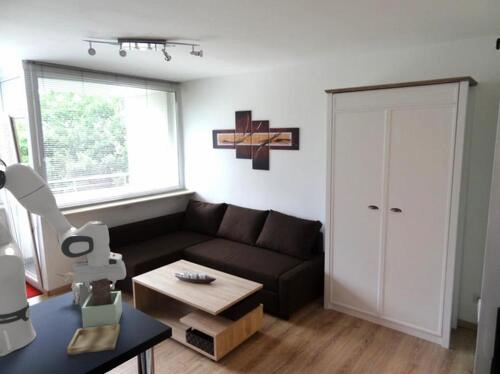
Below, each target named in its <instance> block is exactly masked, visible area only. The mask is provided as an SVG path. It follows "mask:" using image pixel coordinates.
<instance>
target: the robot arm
mask: <svg viewBox="0 0 500 374" xmlns="http://www.w3.org/2000/svg"><path fill="white" fill-rule="evenodd" d="M2 189H5V190H8V191H9V192H10V193H11V195H12V196H13V197H14V198H15V199H16V200H17V202H18V203H19V204H20V205H21V206H22V207H23V208H24V209H25V210H27V211H28V213H30V214H33V215H37V216H40V217H41V218H42V219H44V220H45V221H46V223H47V224H48V225H49V227H51V229H52V230H53V231H54V232H55V234H56V238H57V243H58V244H59V246H60V250H61V253H62V254H63V255H64V256H66V257H67V258H70V259H73V258H74V259H76V258H80V257H83V256H85V255H86V256H87V259H83V260H82V259H81V260H76V261H75V262H73V263H72V270H73V273H74V282H75V283H85V286H86V287H87V288H88V292H92V286H90V284H89V282H92V281H99V280H102V279H107V278H108V281H109V280H110V281H112V284H110V290H111V291H113V290H115V284H116V282H117V281H118V280H124V279H125V278H126V277H127V269H126V264H125V262H124V260H122V259H123V255H122V254H120V253H115V252H112V251H111V248H110V235H109V229H108V225H107V224H106V223H104V222H103V221H100V220H99V221H98V220H91V221H87V222H86V223H85V224H84V225H83V226H81V227H80V228H79V227H78V226H76V225H73V224H72V223H71V222H70V221H69V219H67V218H66V216H65V215H64V214H63V212H62V211H61V209H59V206H58V205H57V198H56V197H55V194H54V193H53V191H52V190H51V188H50V186H49V184H48V183H47V182H46V180H44V179H43V177H42V176H41V175H40V174H39V173H38V171H36V170H35V169H34V168H33V167H32V166H30V164H28V163H26V162H25V163H24V162H17V163H13V164H11V165H7V164H6V162H5V161H4V160H3V159H2V158H0V190H2ZM24 258H25V257H24V255H23V253H22V250H21V249H20V246H19V245H18V243H17V241H16V239H15V238H14V237H13V235H12V233H11V232H10V230H9V229H8V227H7V226H6V223H5V222H4V219H3V217H1V216H0V357H4V356H6V355H8V354H10V353H12V352H14V351H16V350H18V349H21V348H24V347H26V346H27V345H29V344H30V343H32V342H34V340H35V339H36V337H37V333H36V331H35V328H34V327H33V324H32V323H33V322H32V320H31V308H30V302H29V301H28V294H27V293H28V292H27V286H26V266H25V259H24Z"/></svg>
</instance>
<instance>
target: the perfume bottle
mask: <svg viewBox="0 0 500 374" xmlns="http://www.w3.org/2000/svg"><path fill="white" fill-rule="evenodd" d="M89 284H90V286H92V283H91V282H89ZM79 286H80V298H81V304H80V307H81V310H82V307H83V305H84V303H85V302H86V300H87V298H88V296H89V294H92V292H88V288H87V287H86V286H85V283H81V284H79ZM80 298H79V299H80Z"/></svg>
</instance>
